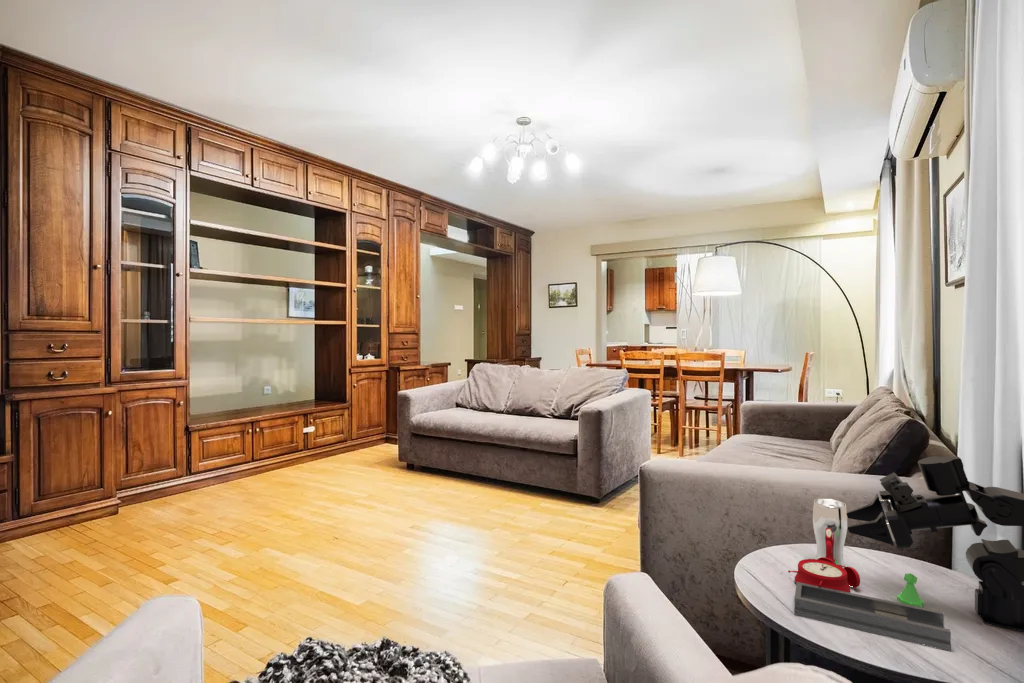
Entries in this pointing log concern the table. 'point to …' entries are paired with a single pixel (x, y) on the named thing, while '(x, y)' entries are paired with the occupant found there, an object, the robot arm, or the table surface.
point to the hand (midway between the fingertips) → (847, 522)
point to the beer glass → (830, 528)
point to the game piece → (910, 592)
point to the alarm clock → (826, 574)
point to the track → (873, 615)
